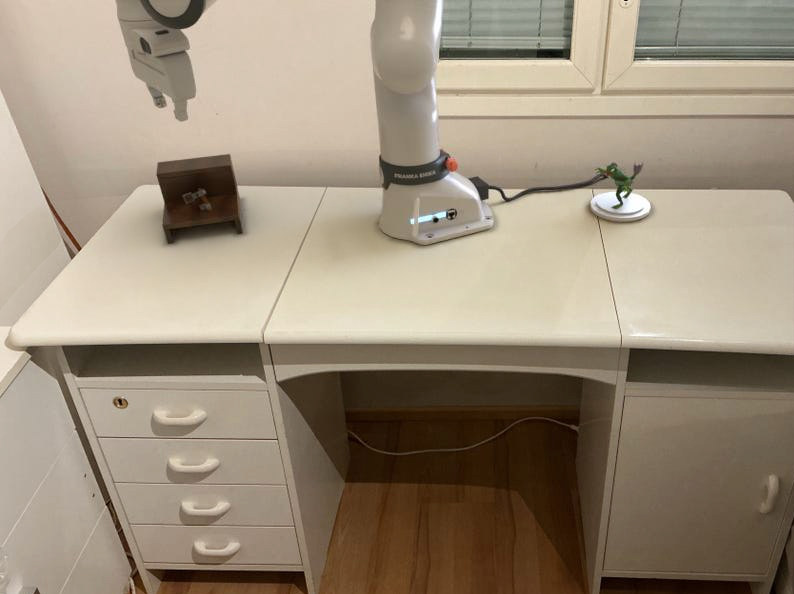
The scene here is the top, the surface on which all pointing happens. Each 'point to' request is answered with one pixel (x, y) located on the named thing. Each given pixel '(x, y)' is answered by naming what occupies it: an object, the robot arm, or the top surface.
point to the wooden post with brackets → (201, 193)
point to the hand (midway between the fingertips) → (171, 113)
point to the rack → (189, 177)
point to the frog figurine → (620, 198)
